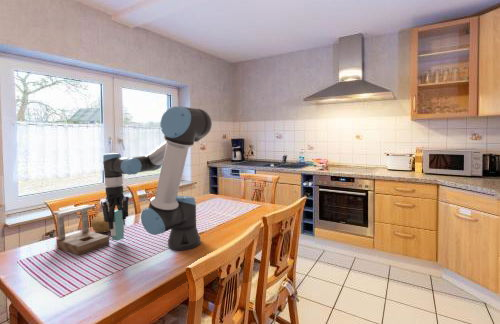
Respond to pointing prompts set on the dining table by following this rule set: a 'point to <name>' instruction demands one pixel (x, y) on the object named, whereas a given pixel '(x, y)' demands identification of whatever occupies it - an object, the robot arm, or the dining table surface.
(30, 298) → the dining table surface
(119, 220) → the peg
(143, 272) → the dining table surface
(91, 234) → the socket stand
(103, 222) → the potato
